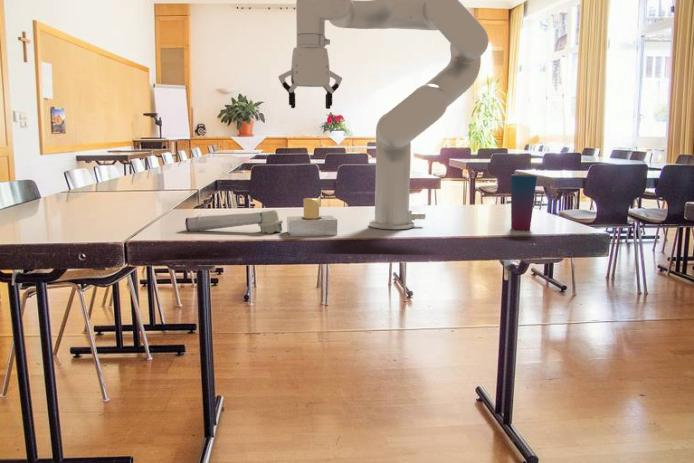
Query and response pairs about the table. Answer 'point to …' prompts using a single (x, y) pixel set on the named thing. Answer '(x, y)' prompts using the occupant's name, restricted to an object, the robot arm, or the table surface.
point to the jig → (311, 226)
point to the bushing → (311, 208)
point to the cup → (522, 200)
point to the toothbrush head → (236, 221)
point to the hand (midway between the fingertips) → (310, 108)
